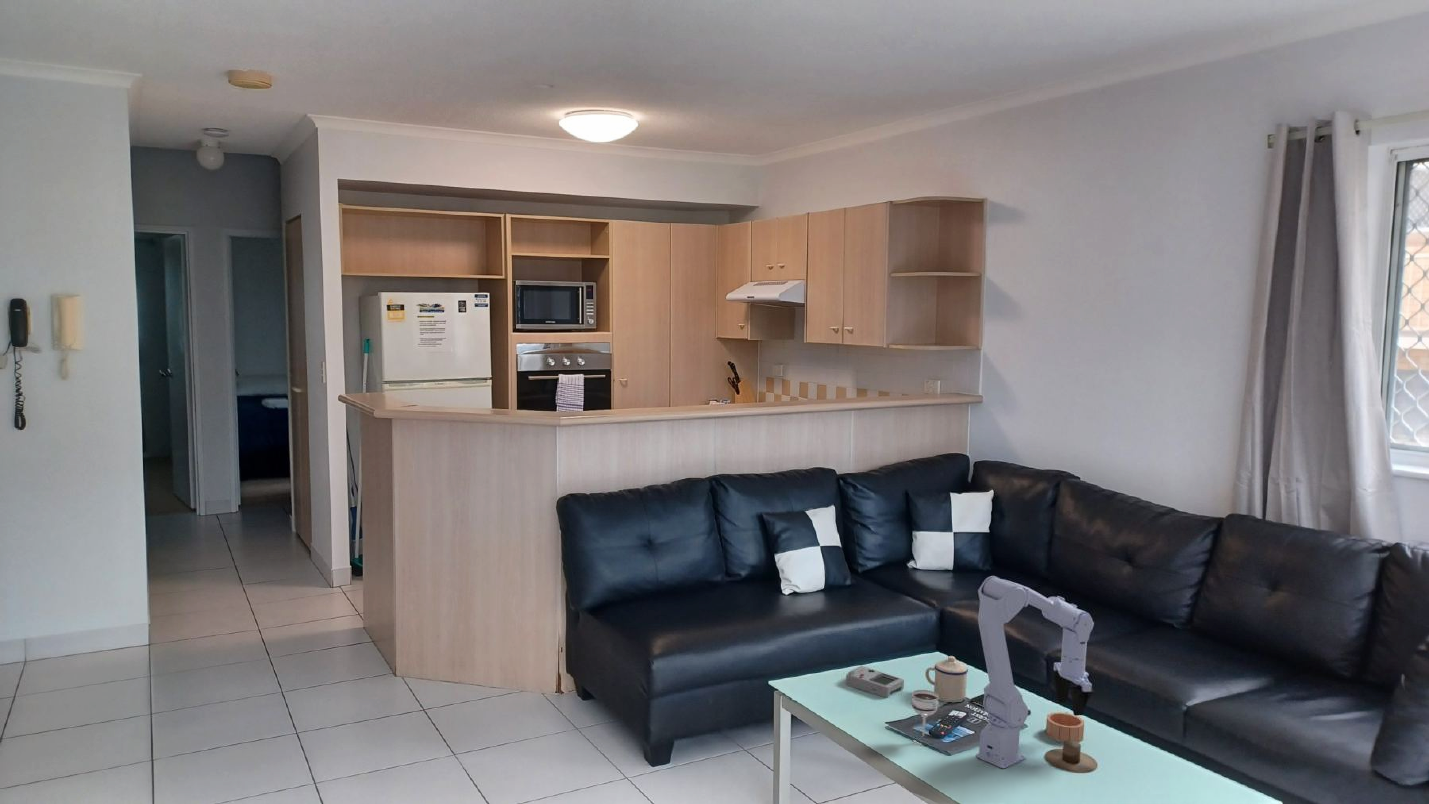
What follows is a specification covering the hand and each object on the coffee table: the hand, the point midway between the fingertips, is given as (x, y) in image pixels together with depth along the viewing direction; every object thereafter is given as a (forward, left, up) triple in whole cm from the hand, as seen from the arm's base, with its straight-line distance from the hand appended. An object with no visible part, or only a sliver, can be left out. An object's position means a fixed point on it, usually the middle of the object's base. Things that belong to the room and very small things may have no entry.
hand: (1069, 708), depth 240 cm
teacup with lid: (-1, +37, -9) cm, 38 cm away
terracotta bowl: (+4, +3, -9) cm, 10 cm away
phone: (+5, +23, -10) cm, 26 cm away
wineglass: (-29, +22, -9) cm, 38 cm away
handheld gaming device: (-13, +53, -10) cm, 56 cm away
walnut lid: (-8, -6, -10) cm, 14 cm away
